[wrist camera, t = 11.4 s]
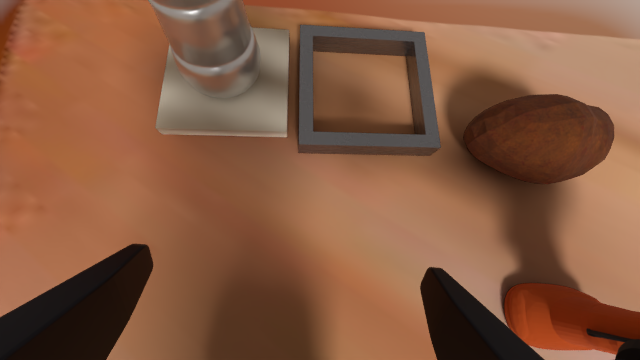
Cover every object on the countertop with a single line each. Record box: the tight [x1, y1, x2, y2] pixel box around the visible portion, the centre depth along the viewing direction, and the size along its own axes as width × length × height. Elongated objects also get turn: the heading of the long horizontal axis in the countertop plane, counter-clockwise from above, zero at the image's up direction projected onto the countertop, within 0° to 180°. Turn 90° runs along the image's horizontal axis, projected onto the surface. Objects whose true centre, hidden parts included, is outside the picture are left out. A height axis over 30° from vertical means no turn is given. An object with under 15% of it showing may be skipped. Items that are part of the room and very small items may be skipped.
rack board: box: [155, 28, 290, 137], centre depth 25 cm, size 11×11×1 cm
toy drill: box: [504, 283, 640, 360], centre depth 14 cm, size 5×19×15 cm, turn 86°
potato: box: [463, 94, 614, 184], centre depth 22 cm, size 8×12×8 cm, turn 92°
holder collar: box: [299, 25, 441, 156], centre depth 25 cm, size 12×12×2 cm
